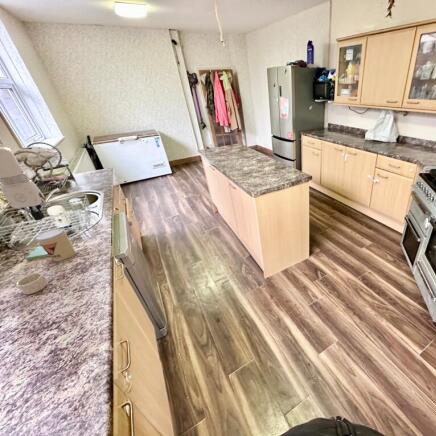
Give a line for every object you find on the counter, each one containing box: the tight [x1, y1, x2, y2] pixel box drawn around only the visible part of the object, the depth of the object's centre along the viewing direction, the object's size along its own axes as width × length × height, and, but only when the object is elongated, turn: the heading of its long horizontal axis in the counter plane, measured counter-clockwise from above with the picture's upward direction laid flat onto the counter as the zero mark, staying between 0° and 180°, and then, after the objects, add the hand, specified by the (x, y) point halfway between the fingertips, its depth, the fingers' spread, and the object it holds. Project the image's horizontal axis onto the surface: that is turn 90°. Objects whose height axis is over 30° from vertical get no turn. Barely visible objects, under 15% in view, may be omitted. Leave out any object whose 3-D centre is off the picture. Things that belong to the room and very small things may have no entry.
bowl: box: [15, 272, 49, 295], centre depth 87 cm, size 7×7×4 cm
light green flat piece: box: [25, 245, 50, 261], centre depth 108 cm, size 12×10×3 cm
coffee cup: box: [35, 227, 76, 262], centre depth 102 cm, size 9×9×12 cm
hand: (40, 218), depth 103 cm, fingers closed
